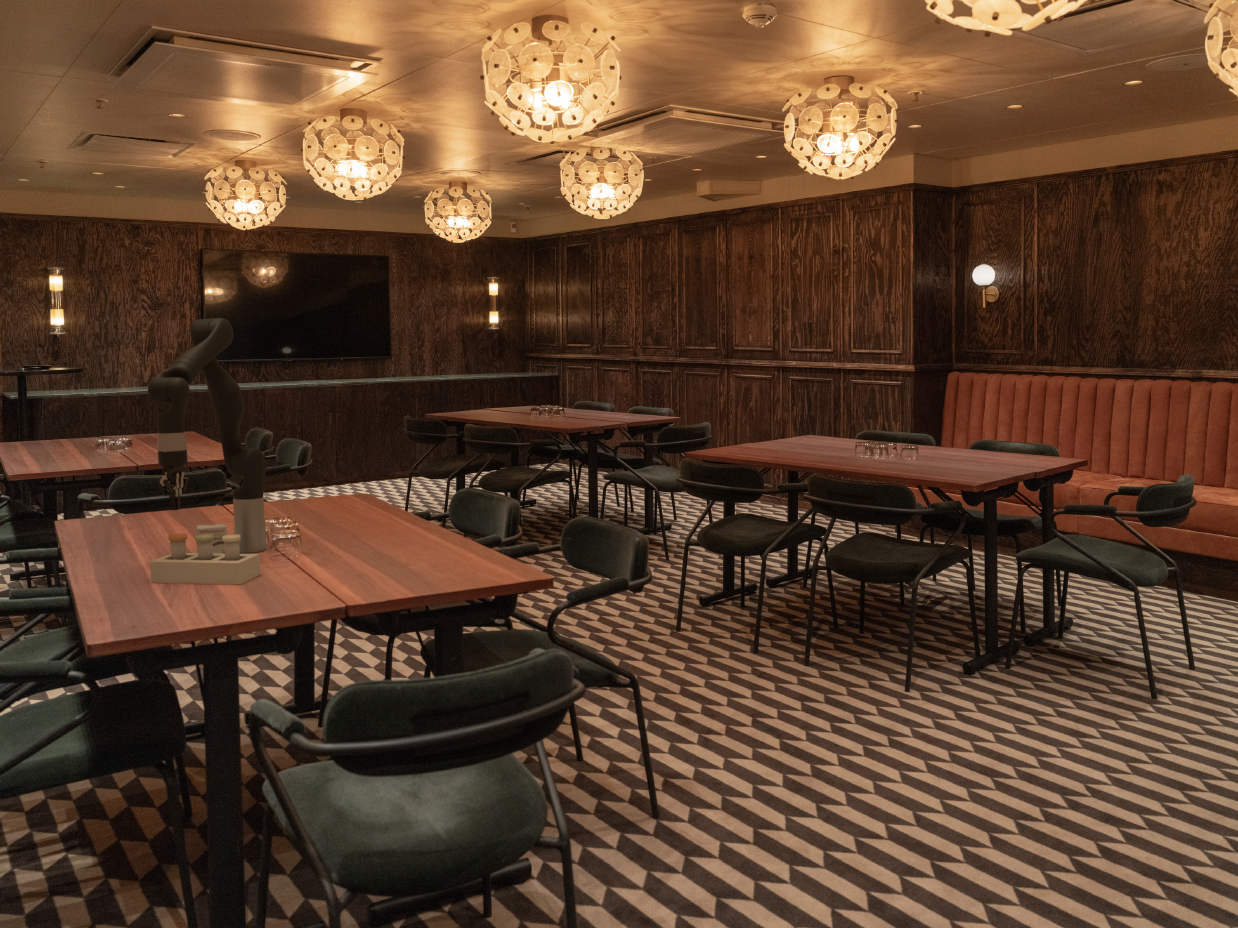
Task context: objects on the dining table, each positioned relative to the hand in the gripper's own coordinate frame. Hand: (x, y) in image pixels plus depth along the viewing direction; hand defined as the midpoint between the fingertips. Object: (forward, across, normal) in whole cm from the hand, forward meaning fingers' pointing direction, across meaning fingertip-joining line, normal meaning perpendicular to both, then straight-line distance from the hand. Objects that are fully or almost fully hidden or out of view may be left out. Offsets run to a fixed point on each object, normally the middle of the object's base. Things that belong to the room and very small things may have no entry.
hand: (175, 509), depth 277 cm
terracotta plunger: (+16, 0, 0) cm, 16 cm away
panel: (+20, 0, +8) cm, 21 cm away
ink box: (+20, -18, 0) cm, 27 cm away
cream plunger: (+16, 0, +16) cm, 22 cm away
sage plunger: (+16, 0, +8) cm, 17 cm away
